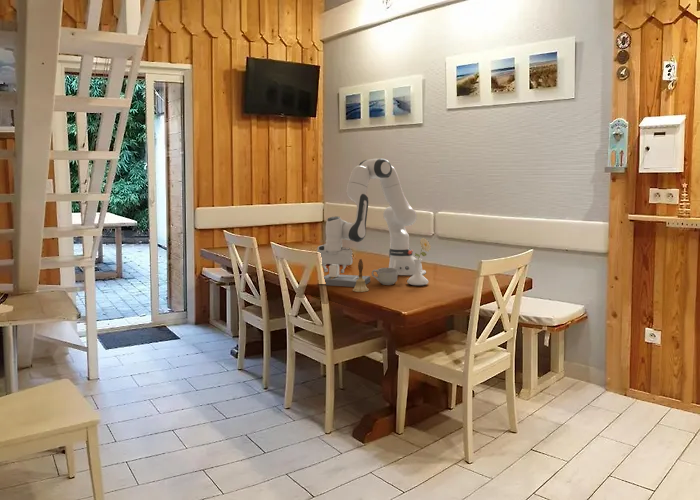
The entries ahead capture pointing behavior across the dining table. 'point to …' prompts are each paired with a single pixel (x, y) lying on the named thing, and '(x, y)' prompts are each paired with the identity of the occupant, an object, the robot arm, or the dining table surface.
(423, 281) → the flower in vase
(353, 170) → the robot arm
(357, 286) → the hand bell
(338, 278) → the console
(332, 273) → the fader
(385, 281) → the teacup
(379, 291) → the dining table surface
